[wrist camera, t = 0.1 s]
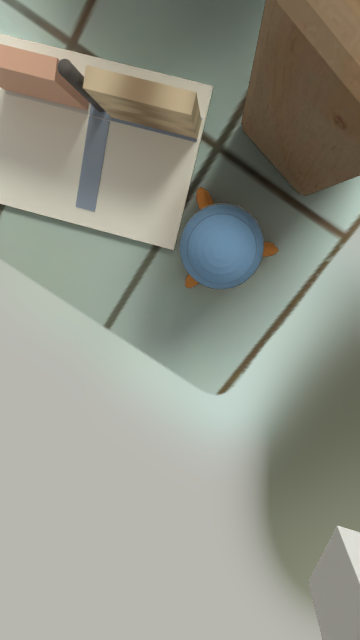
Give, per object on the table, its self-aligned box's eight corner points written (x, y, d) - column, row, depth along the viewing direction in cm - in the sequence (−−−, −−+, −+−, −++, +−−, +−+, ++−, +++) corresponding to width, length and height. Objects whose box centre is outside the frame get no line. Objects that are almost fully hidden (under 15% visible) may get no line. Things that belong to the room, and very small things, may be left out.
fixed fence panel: (95, 114, 34) (56, 77, 26) (98, 96, 33) (59, 54, 25) (197, 139, 33) (190, 111, 25) (201, 122, 33) (195, 87, 25)
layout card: (1, 36, 33) (-3, 32, 33) (213, 88, 32) (213, 85, 32) (-11, 200, 38) (-15, 199, 37) (174, 249, 37) (173, 250, 36)
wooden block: (302, 201, 34) (406, 166, 15) (236, 126, 33) (258, -14, 14) (386, 122, 31) (645, -43, 12) (318, 38, 30) (485, -286, 11)
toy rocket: (181, 190, 36) (201, 136, 21) (274, 208, 37) (354, 169, 23) (166, 283, 38) (175, 293, 23) (256, 298, 39) (320, 317, 24)
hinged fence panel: (90, 92, 33) (57, 57, 26) (87, 110, 33) (54, 80, 27) (4, 71, 33) (-50, 31, 27) (3, 89, 34) (-51, 54, 27)
